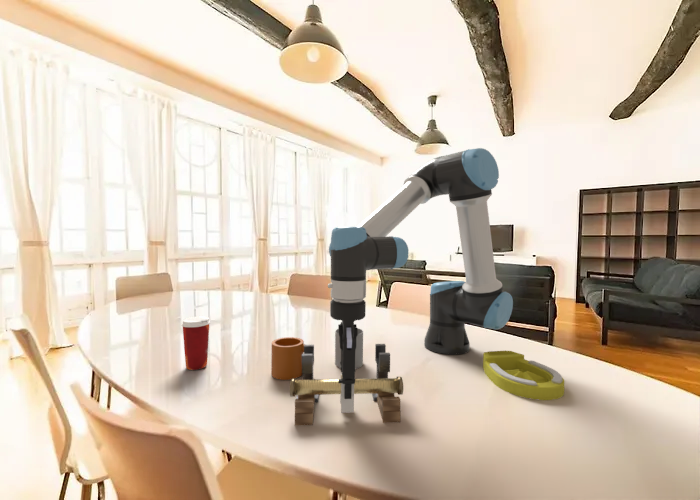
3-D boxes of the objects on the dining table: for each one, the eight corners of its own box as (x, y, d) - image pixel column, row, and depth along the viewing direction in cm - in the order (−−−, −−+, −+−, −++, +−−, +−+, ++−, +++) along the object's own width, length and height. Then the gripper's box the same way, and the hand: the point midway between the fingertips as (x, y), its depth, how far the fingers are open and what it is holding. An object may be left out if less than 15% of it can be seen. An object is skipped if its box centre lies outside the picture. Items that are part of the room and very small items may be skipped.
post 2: (389, 386, 82) (389, 343, 81) (395, 401, 75) (395, 354, 74) (369, 387, 82) (370, 343, 81) (373, 401, 74) (374, 354, 74)
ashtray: (520, 365, 97) (521, 349, 97) (580, 400, 77) (581, 379, 76) (470, 369, 94) (471, 352, 94) (519, 406, 74) (520, 384, 73)
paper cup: (216, 363, 96) (216, 317, 95) (194, 373, 89) (193, 323, 88) (198, 359, 99) (197, 314, 98) (175, 368, 92) (174, 320, 91)
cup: (360, 370, 92) (360, 336, 91) (332, 368, 93) (332, 334, 93) (364, 359, 100) (364, 328, 99) (339, 357, 102) (339, 326, 101)
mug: (302, 385, 82) (302, 350, 82) (264, 376, 87) (264, 344, 87) (319, 371, 91) (319, 340, 90) (283, 364, 95) (283, 335, 95)
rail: (399, 389, 71) (400, 373, 71) (403, 397, 68) (403, 381, 68) (291, 391, 70) (291, 375, 70) (289, 400, 66) (289, 383, 66)
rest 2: (392, 403, 74) (393, 382, 73) (400, 423, 66) (400, 400, 66) (377, 403, 73) (377, 382, 73) (383, 424, 65) (383, 400, 65)
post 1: (318, 388, 81) (319, 344, 80) (317, 403, 73) (318, 355, 73) (299, 388, 80) (299, 344, 80) (295, 403, 73) (296, 355, 73)
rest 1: (314, 405, 73) (314, 384, 72) (312, 425, 65) (312, 402, 64) (298, 405, 72) (298, 384, 72) (294, 426, 64) (294, 402, 64)
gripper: (330, 292, 76) (329, 389, 77) (330, 307, 60) (329, 429, 61) (361, 292, 76) (360, 389, 77) (370, 307, 60) (368, 428, 61)
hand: (346, 406), depth 69 cm, fingers closed on rail, 3 cm apart
